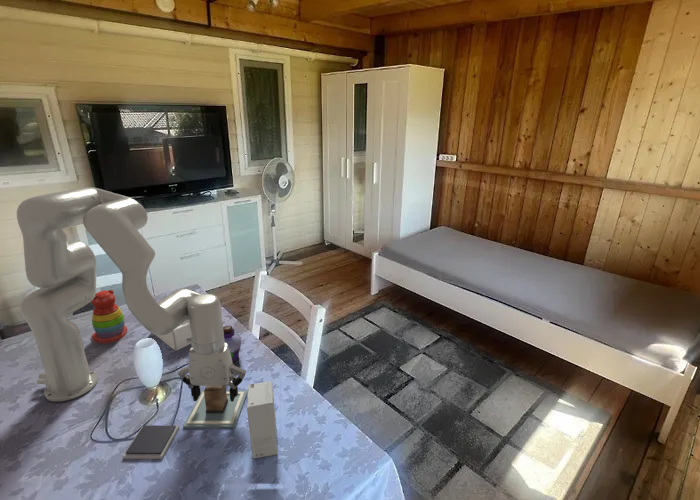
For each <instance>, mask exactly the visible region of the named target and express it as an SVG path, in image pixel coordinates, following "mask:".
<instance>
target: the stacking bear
mask: <svg viewBox="0 0 700 500" xmlns="http://www.w3.org/2000/svg"><path fill="white" fill-rule="evenodd" d="M114 293H115V292H114V290H112V289H108V290H101V291H99V292H98V291H97V292H96V294H95V297H94V299H93V300H92V301H91V303H92V306H93V307H94V309H93V311H92V315H91V316H92V317H91V325H92V327H93V330H94V332H93V333H92V335H91V340H92V339H93V340H94V341H93V342H95V343H97V342H98V344H111V343H115V342H117V341H119V340H121V339H123V338H124V337H126V335H127V333H128V327H127V325H126V324H125V317H124V314H123V312H122V309H121V308H120V307H119V306H118V305H117V304H116V296H115V294H114Z"/></svg>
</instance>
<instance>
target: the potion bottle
mask: <svg viewBox="0 0 700 500" xmlns="http://www.w3.org/2000/svg"><path fill="white" fill-rule="evenodd" d="M223 332H224V341H225V343H227V345H228V348H229V350H230V354H231V358H232V362H233V363H235V362H236V361H237V360H238V359H239V354H240V350H241V347H242V346H241V345H242V337H241V336H240V335H237V334H235V329H234V328H233V326H232V325H225V326H224V325H223ZM237 358H238V359H237ZM236 359H237V360H236ZM235 360H236V361H235Z"/></svg>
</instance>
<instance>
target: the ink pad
mask: <svg viewBox="0 0 700 500" xmlns="http://www.w3.org/2000/svg"><path fill="white" fill-rule="evenodd" d="M179 429H180V425H155V424H154V425H142V426H141V427H140V429H139V431H137V433H136V435H135V437H133V439H132V441H131V442H130V444H129V445H128V447H127V448H126V450H125V451H124V453H123V455H122V459H125V460H127V459H129V460H136V459H138V460H141V459H142V460H143V459H144V460H151V459H152V460H156V459H157V460H159V459H160V460H163V459H164V457H165V454H166V453H167V451H168V450H169V448H170V446H171V444H172V442H173V441H174V438H175V437H176V436H177V433H178V431H179Z"/></svg>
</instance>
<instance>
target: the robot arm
mask: <svg viewBox="0 0 700 500" xmlns="http://www.w3.org/2000/svg"><path fill="white" fill-rule="evenodd" d="M16 219H17V224H18V226H19V229H20V231H21V232H20V233H21V234H22V241H23V254H24V255H23V256H24V267H25V275H26V278H27V280H28V282H29V283H30V285H32V286H34V288H35V287H36V288H37V289H36V290H34V291H32V292H30V293H28V294H27V295H26V296H24V298H23V299H22V301H21V302H20V305H19V309H20V312H21V314H22V317H23V318H24V320H25V322H26V323H27V325H28V326H29V328H30V330H31V332H32V335H33V337H34V340H35V344H36V347H37V349H38V354H39V357H40V359H41V362H42V366H43V369H44V372H43V371H41V372H40V373H39V375H38V379H37V380H36V384H38V385H45V387H46V388H45V389H44V391H43V393H44V394H43V395H44V397H45V399H46V400H47V401H49V402H56V403H57V402H65V401H70V400H73V399H76V398H79V397H81V396H82V395H84V394H87V393H88V392H89V391H91V390H92V389H93V388H94V387H95V386H96V384H97V383H98V381H99V376H98V374H97V372H96V371H93V370H90V368H89V363H88V359H87V355H86V351H85V349H84V348H85V347H84V344H83V340H82V336H81V333H80V329H79V328H78V326H77V325H76V324H75V323H74V322H72V321H71V320H69V319H68V317H69V316H70V315H72V314H73V313H74V312H77V311H78V310H79V309H82V308H84V307H85V306H87V305H89V304H90V303H92V300H93V299H94V297H95V294H96V293H97V258H96V256H95V253H94V251H93V250H92V248H91V247H90V246H89V245H88V244H87V243H85V242H83V241H78V240H70V241H68V236H67V234H66V231H65V230H64V229H68V228H72V227H76V226H79V225H83V226H84V228H85V230H86V231H87V232H88V234H89V235H90V236H91V237H92V239H94V241H95V242H96V243H97V244H98V246H99V247H100V248H101V249H102V250H103V251H104V253H105V254H106V255H107V257H109V259H110V260H111V261H112V262H113V264H114V265H115V266H116V267H117V268H118V270H119V271H120V274H121V275H122V279H121V280H122V281H121V283H122V285H121V287H122V292H123V298H124V300H125V301H124V302H125V304H126V307H127V309H128V310H129V312H130V313H131V314H132V315H133V316H134V318H136V320H137V321H138V322H139V323H140V325H142V327H143V328H144V329H145V330H147V332H149V333H150V334H151V333H152V334H153V335H155V336H156V335H160V336H162V335H167V334H169V333H171V332H172V331H173V330H175V329H176V328H177V327H178V326H180V325H181V324H182V323H183V322H184V321H186V320H189V323H190V330H191V338H187V343H190V344H189V345H191V347H190V349H189V354H188V365H187V366H185V367H184V368H181V369H179V371H178V372H177V375H178V377H180V379H181V381H182V382H183V383H184V384H186V385H187V387H188V389H190V393H191V394H190V395H191V397H192V400H193V402H196V401H197V399H198V398H199V396H200V394H201V386H203V387H204V386H205V387H206V386H224V385H226V386H229V387H230V388H229V389H228V391H230V401H231V402H233V401H234V399H235V397H237V395H238V391H239V390H238V389H239V388H238V386H239V385H240V384H241V383H242V382H243V381H244V378H245V376H246V374H247V370H245V369H243V368H241V367H239V366H236V365H234V364H233V363H234V362H232V358H231V354H230V350H229V348H228V345H227V343H225V341H224V332H223V327H224V323H223V316H222V315H223V314H222V305H221V300H220V298H219V297H218V296H217V295H215V294H211V293H204V294H202V293H199V292H196V291H194V290H191V289H188V288H178V289H176V290H174V291H173V292H171V293H169V294H168V295H167V296H165V297H163V298H161V300H158V301H157V300H156V299H155V298H154V296H153V295H152V294H151V291H150V290H149V286H148V283H147V275H148V271H149V268H150V266H151V264H152V262H153V261H154V259H155V257H156V251H155V250H154V248H153V247H152V246H151V245H150V244H149V243H148V241H147V240H146V239H145V237H144V236H143V235H142V233H140V231H139V230H140V229H143V228H144V227H145V226H146V224H147V222H148V213H147V210H146V209H145V208H144V206H143V205H142V204H141V203H140V202H139V201H137V200H136V199H134V198H131V197H129V196H126V195H122V194H119V193H114V192H112V191H108V190H105V189H102V188H97V187H91V186H90V187H81V188H75V189H68V190H63V191H62V190H61V191H58V192H53V193H47V194H42V195H41V194H40V195H37V196H33V197H29V198H27V199H25V200H22V202H21V203H19V205H18V207H17V209H16ZM235 374H236V375H238V376H235Z"/></svg>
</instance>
